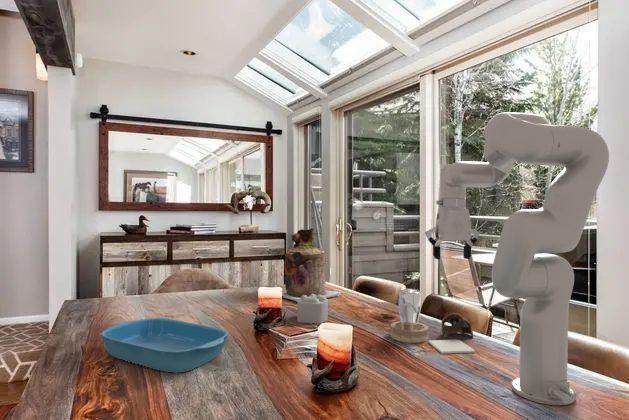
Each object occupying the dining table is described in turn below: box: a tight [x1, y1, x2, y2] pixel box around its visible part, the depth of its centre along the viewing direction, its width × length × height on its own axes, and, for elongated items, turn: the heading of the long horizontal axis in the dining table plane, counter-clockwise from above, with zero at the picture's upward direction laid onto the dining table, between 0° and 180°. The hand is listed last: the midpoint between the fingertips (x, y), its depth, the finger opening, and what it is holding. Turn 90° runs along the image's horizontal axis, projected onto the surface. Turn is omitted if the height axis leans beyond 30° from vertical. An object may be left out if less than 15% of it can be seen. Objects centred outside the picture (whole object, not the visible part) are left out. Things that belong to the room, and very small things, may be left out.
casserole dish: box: [101, 317, 229, 374], centre depth 118 cm, size 37×22×7 cm, turn 63°
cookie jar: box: [281, 227, 341, 303], centre depth 198 cm, size 25×25×32 cm
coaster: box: [427, 339, 476, 355], centre depth 127 cm, size 10×10×1 cm
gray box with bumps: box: [296, 294, 329, 325], centre depth 158 cm, size 10×13×9 cm
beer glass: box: [398, 288, 422, 330], centre depth 137 cm, size 7×7×15 cm
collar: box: [389, 320, 429, 344], centre depth 137 cm, size 12×12×4 cm
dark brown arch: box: [440, 313, 474, 339], centre depth 140 cm, size 12×10×8 cm
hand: (451, 258), depth 133 cm, fingers open, 9 cm apart
